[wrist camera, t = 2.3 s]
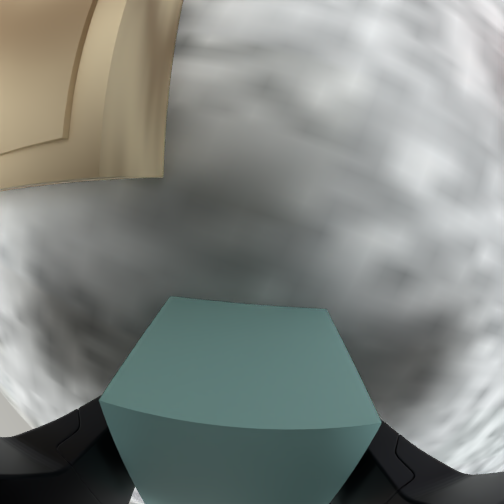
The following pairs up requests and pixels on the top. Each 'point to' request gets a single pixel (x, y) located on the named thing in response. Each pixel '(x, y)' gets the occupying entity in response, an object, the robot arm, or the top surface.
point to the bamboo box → (84, 89)
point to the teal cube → (239, 406)
